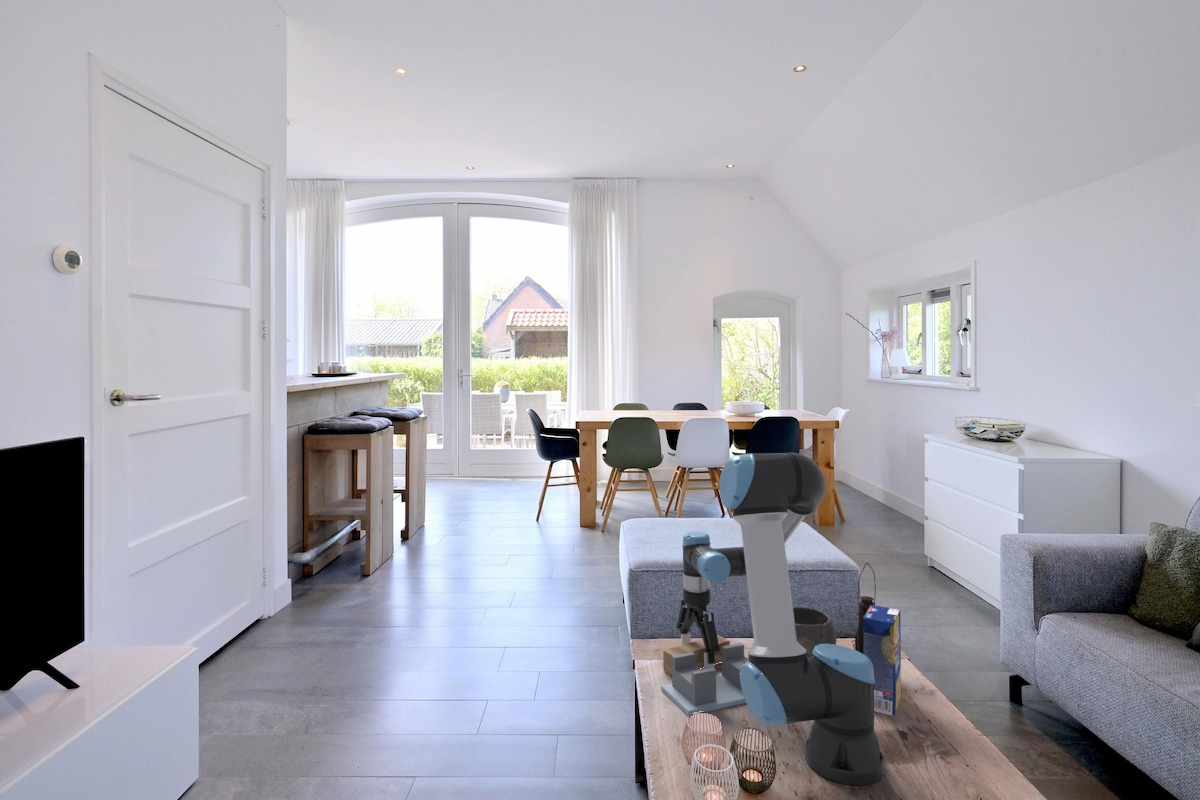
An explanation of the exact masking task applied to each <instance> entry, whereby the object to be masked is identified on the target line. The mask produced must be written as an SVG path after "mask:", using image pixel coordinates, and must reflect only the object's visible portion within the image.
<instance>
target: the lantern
mask: <svg viewBox="0 0 1200 800" xmlns="http://www.w3.org/2000/svg"><path fill="white" fill-rule="evenodd" d="M866 566H869V568H871V570H872V573H873V578H874V580H873V581H874V582H876V575H875V571H874V569H873V568H872V566H871V565H870V563H869V562H866V563H865V564H864V566H863V568H862V570H861V571H860V573H859V574H860V575H859V578H858V582H857V585H858V586H857V602H858V603H857V605H858V608H857V609H858V612H857V614H856V616H858V618H857V620H858V621H857V622H858V623H857V630H856V633H855V638H854V640H851V643H852V647H853V649H854V650H856V651H858V652H860V653H862V654H863V617H864V616H865V614H866V612H867V611H868V609H869V607H870V606H871V605H875V606H876V597H871V596H868V595H867V596H866V595H862V596H860V595H859V594H860V582H861V581H860V580H861V577H862V576H861V575H862V574H863V572H864V569H865V567H866ZM876 587H877V586H876V585H874V595H876V593H877V592H876V591H877V589H876ZM859 599H860V600H859Z"/></svg>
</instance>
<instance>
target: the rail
mask: <svg viewBox="0 0 1200 800" xmlns="http://www.w3.org/2000/svg"><path fill="white" fill-rule="evenodd" d="M717 638H718V643H719V648H720V651H717V652H715V662H714V664H716V663H719V662H722V646H727V645H731V641H730V639H727V638H725V637H723V636H721V635H720V634H717ZM705 650H706V648H705V645H704V642H703V639H699V640H698V639H697V640H696V641H692V642H691V643H688V644H684V645H681V644H680V645H678V646H675V647H674V646H673V647H670V648H668V649H663V652H662V653H663V654H662V655H663V657H662V658H663V662H662V663H663V664H662V665H663V670H664V671H665V672H664V671H663V672H664V673H666V674H667V673H668V675H669V674H670V676H671V677H672V656H674V655H679V654H684V653H690V652H693V653H694V654H695V666H696V667H698V668H699V669H700V668H703V667H704V651H705Z"/></svg>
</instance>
